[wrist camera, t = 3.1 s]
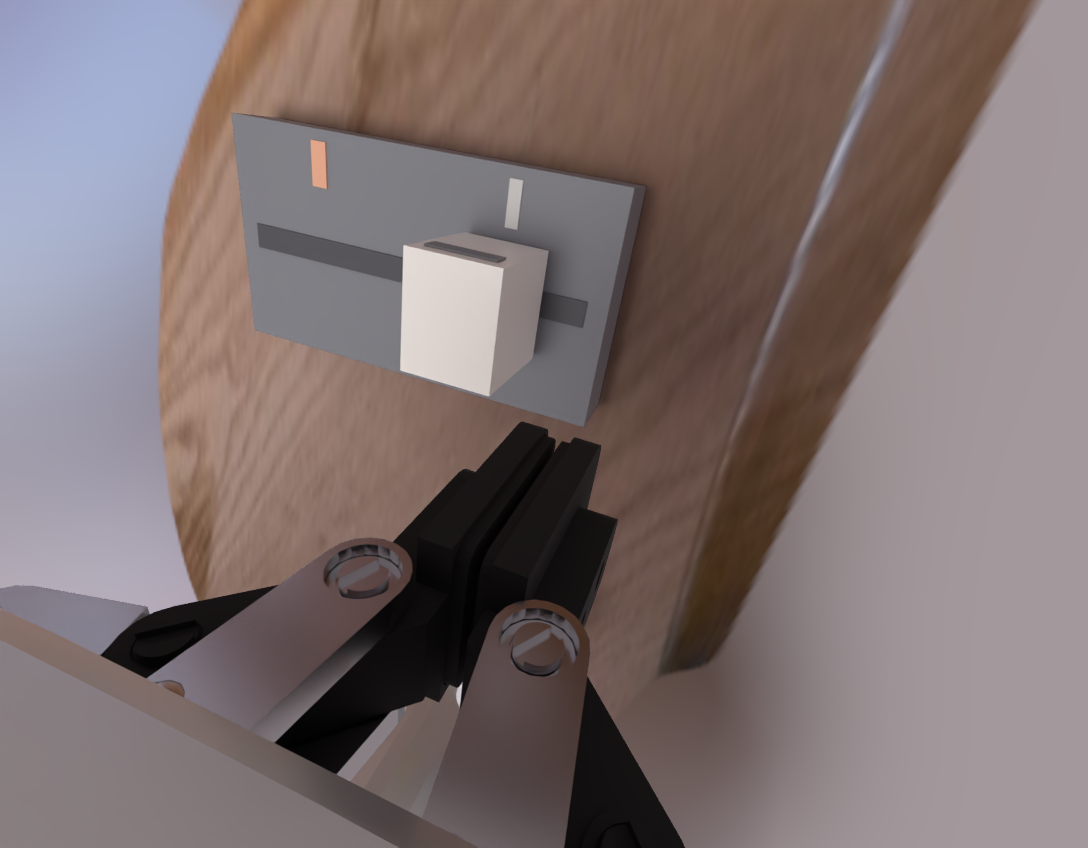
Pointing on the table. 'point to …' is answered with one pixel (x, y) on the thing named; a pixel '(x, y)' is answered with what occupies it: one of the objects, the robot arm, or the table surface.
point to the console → (417, 215)
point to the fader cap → (470, 309)
